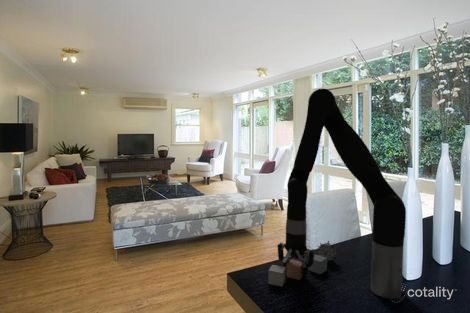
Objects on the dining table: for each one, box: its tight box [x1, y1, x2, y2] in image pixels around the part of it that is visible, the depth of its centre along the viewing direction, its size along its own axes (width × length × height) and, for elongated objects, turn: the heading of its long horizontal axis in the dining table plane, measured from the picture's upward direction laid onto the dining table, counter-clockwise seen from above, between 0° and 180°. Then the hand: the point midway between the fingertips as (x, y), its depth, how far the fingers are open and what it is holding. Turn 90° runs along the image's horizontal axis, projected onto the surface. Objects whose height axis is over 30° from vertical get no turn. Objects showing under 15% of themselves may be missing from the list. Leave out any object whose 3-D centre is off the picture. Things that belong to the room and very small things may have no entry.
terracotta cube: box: [286, 258, 303, 281], centre depth 110 cm, size 5×5×5 cm
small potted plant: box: [315, 240, 339, 263], centre depth 123 cm, size 9×8×10 cm
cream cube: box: [267, 264, 286, 287], centre depth 105 cm, size 5×5×5 cm
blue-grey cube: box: [308, 253, 328, 275], centre depth 115 cm, size 5×5×5 cm
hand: (295, 273), depth 110 cm, fingers open, 6 cm apart
